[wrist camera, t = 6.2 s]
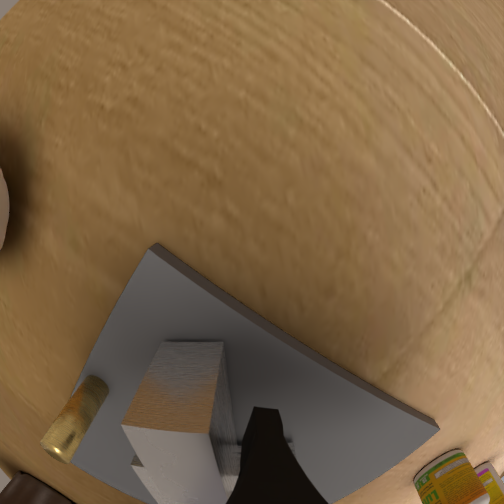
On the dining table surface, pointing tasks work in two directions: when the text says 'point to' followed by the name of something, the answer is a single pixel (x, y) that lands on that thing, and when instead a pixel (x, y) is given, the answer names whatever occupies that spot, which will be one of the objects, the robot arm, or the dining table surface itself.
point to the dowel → (75, 419)
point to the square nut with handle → (185, 426)
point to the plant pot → (29, 492)
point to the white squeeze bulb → (3, 208)
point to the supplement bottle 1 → (450, 481)
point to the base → (241, 384)
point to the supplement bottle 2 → (491, 483)
